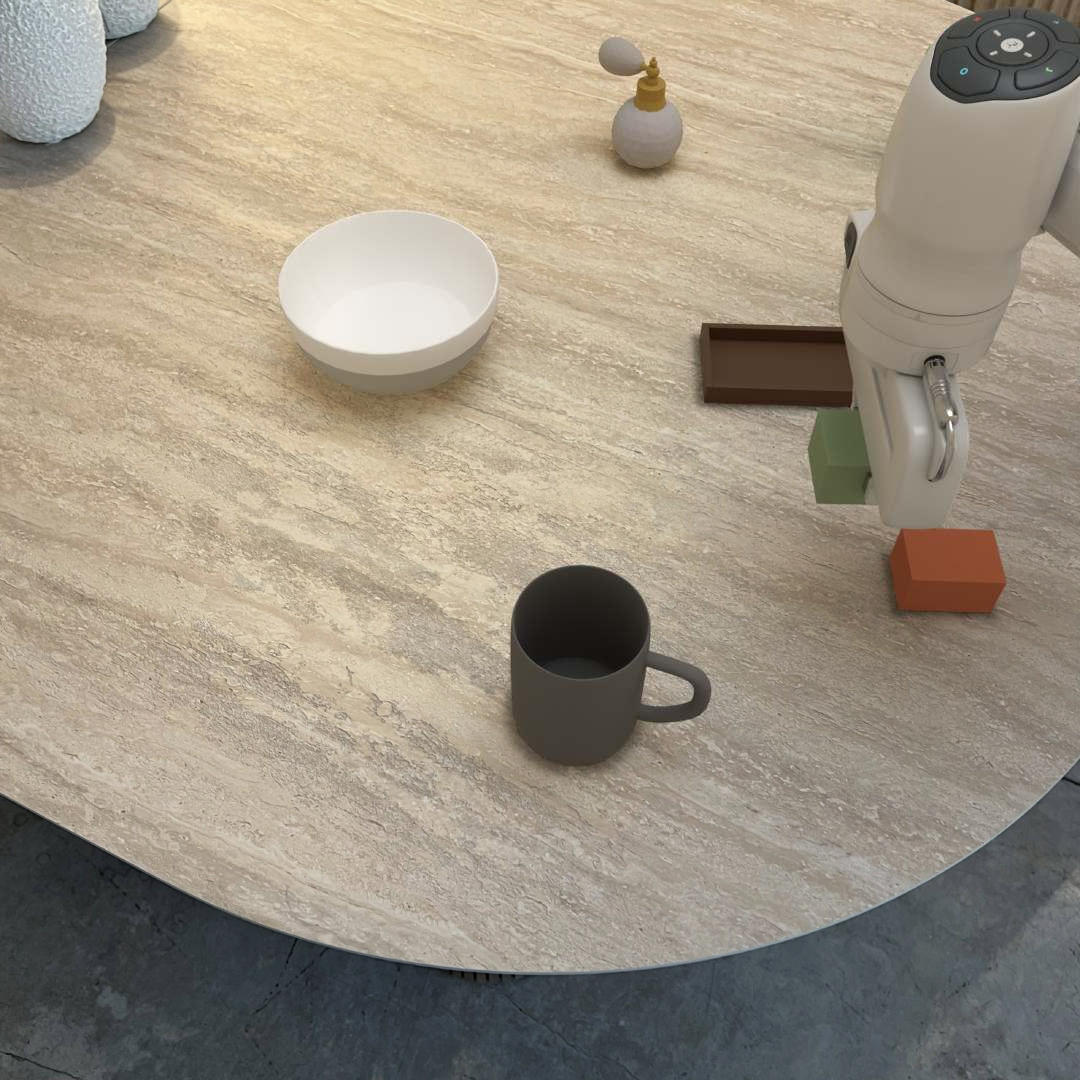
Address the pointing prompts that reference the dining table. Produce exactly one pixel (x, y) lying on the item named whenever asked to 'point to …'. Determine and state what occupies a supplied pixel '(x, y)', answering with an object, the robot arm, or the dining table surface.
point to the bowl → (390, 299)
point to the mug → (587, 666)
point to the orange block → (947, 570)
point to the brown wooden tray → (775, 365)
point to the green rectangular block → (838, 457)
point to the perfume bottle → (642, 109)
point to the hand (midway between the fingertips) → (868, 460)
